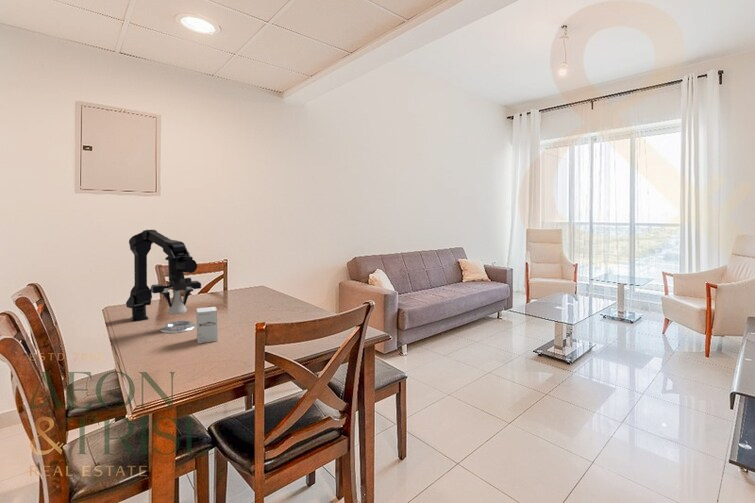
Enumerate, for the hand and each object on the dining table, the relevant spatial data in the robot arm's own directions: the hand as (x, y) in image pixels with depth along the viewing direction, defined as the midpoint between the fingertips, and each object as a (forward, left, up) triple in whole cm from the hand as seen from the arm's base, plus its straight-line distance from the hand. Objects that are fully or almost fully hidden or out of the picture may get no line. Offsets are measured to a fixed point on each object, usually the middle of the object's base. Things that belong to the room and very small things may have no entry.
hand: (177, 306), depth 163 cm
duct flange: (0, 0, -10) cm, 10 cm away
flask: (0, 0, -3) cm, 3 cm away
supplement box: (+24, +6, -10) cm, 27 cm away
